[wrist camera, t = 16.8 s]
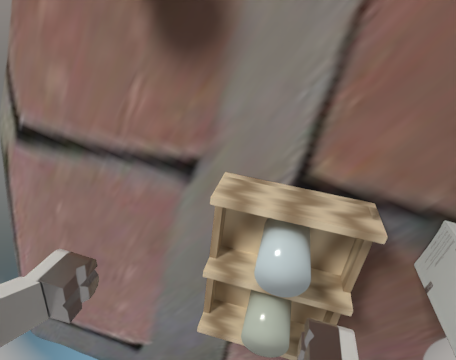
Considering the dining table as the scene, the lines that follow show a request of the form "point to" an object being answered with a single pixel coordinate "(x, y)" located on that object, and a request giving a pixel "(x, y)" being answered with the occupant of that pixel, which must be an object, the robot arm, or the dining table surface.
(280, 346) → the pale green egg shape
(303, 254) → the pale blue-grey rounded dome
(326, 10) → the dining table surface
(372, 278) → the dining table surface
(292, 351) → the rack
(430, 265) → the skincare box
